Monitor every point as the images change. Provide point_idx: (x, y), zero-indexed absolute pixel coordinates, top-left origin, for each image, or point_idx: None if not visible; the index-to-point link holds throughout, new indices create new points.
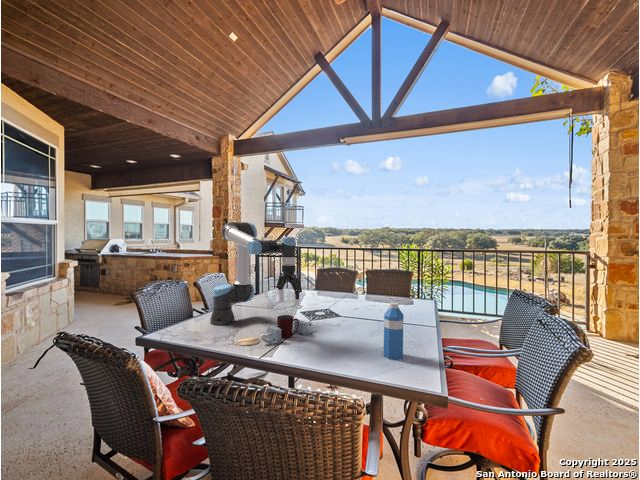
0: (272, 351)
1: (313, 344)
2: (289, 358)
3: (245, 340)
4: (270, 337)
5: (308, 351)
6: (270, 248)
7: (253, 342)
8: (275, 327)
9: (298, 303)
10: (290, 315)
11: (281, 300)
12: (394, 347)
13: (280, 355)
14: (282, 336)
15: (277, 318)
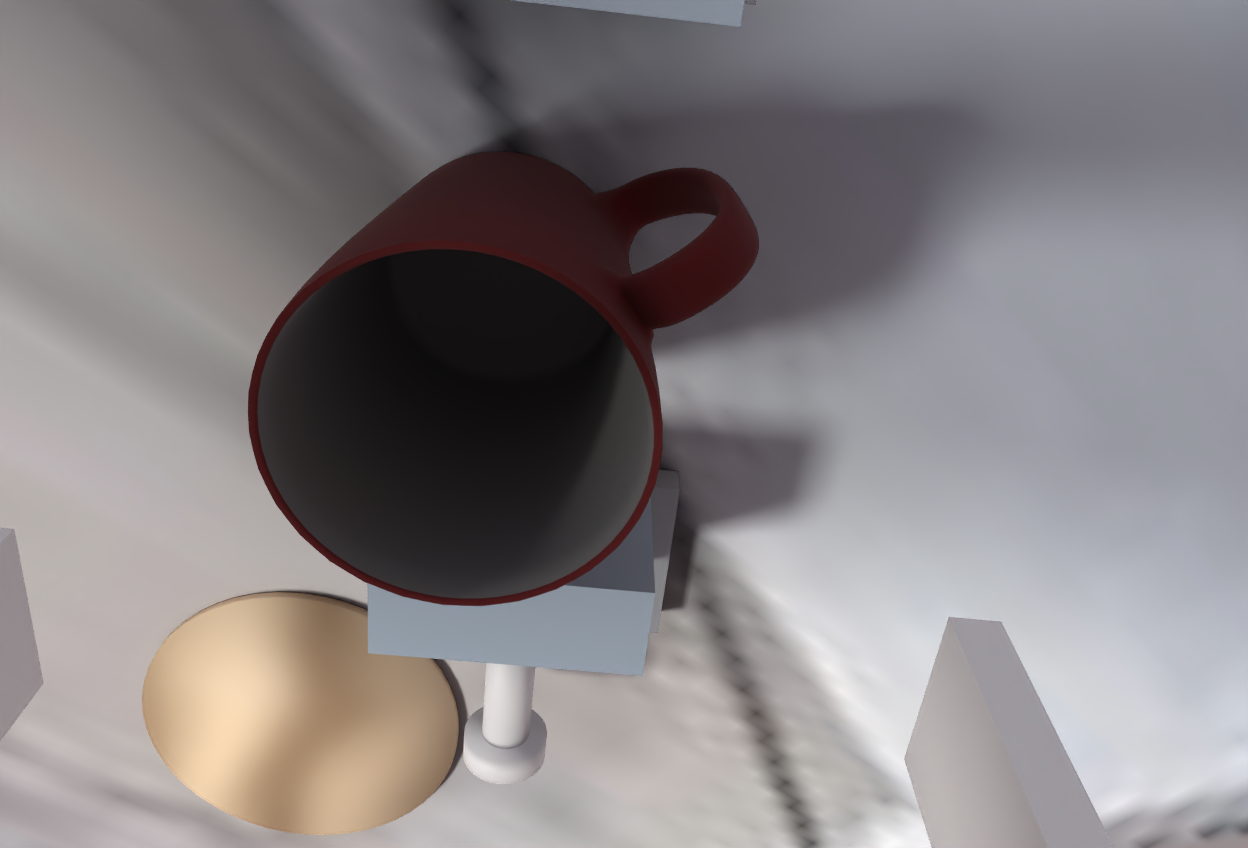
0: (804, 720)
1: (1145, 210)
2: (1112, 724)
3: (258, 737)
4: None
5: (1215, 459)
6: None
7: (398, 717)
8: (507, 606)
9: (1016, 670)
10: (420, 246)
11: (13, 638)
12: None
13: None
14: (556, 392)
15: (372, 572)
